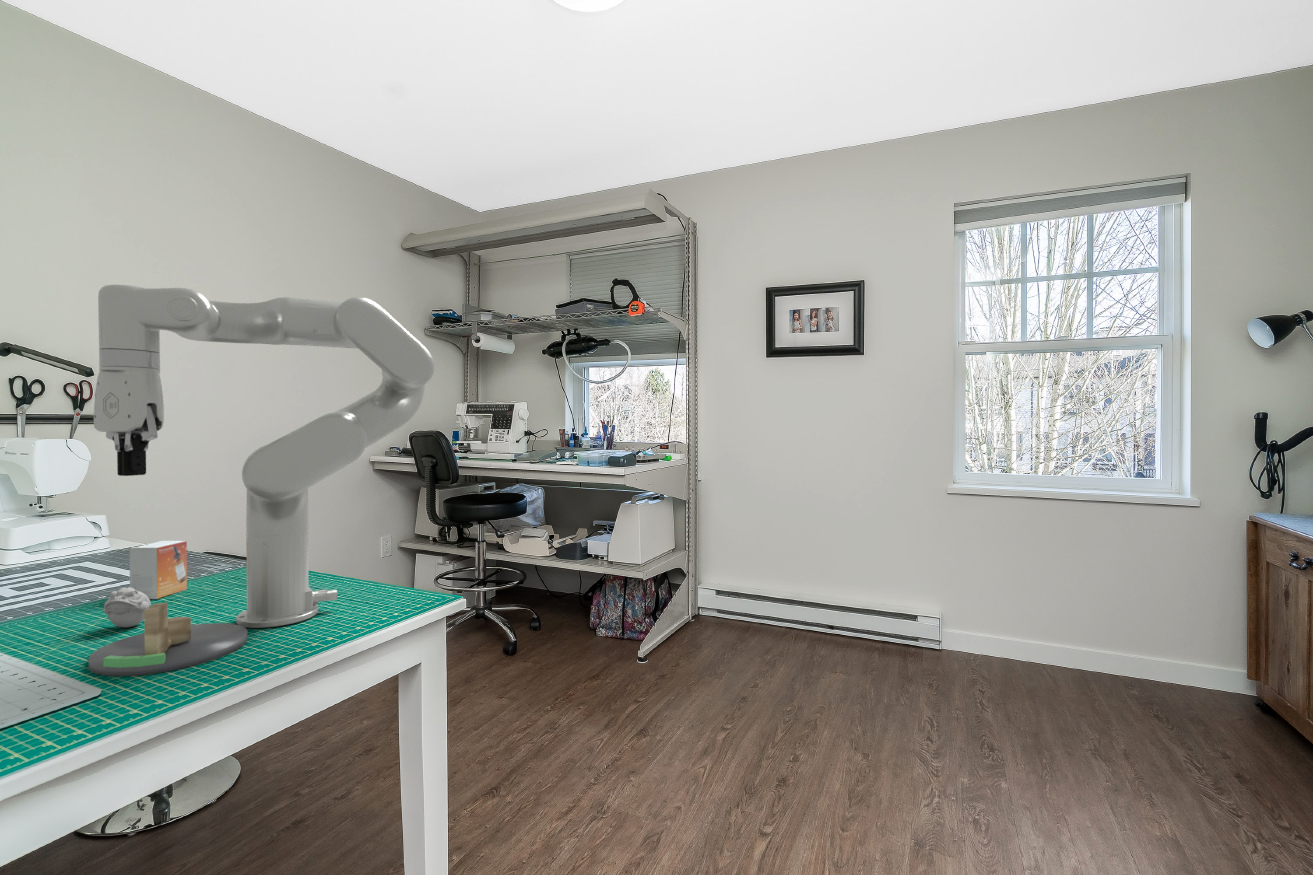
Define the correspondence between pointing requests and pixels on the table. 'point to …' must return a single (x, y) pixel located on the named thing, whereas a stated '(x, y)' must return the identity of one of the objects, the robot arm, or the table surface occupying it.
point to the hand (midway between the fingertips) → (132, 474)
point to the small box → (159, 568)
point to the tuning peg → (164, 629)
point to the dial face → (168, 651)
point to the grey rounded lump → (126, 607)
